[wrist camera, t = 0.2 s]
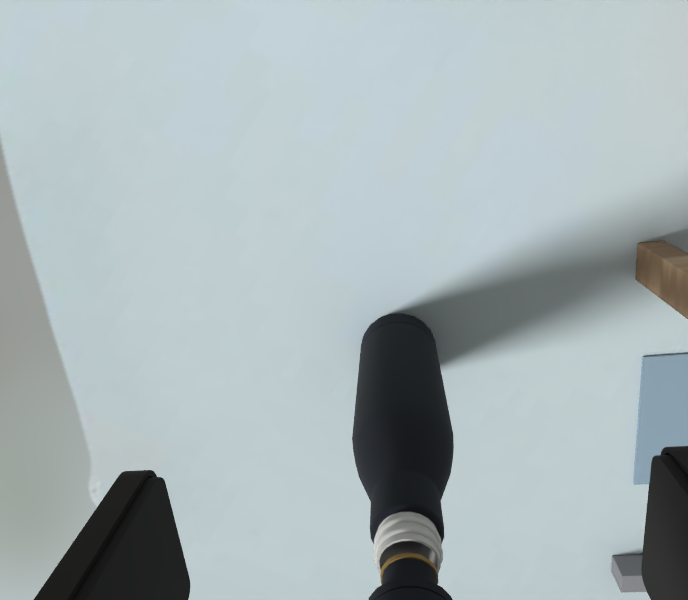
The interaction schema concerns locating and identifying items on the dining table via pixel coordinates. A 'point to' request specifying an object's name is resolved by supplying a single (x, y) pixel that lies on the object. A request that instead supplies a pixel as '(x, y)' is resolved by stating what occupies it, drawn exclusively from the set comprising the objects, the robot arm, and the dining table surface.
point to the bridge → (664, 273)
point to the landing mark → (661, 410)
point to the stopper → (628, 573)
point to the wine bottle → (403, 454)
